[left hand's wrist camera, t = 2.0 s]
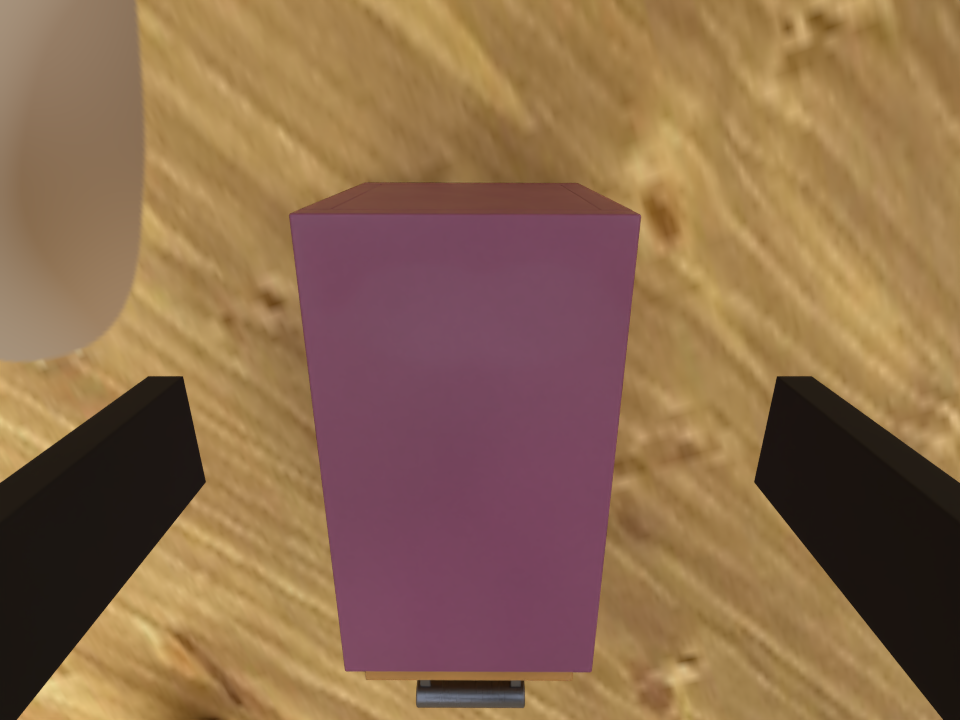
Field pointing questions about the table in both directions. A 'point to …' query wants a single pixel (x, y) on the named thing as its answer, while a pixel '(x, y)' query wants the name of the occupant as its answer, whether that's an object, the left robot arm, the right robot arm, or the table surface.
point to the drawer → (469, 687)
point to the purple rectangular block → (466, 415)
